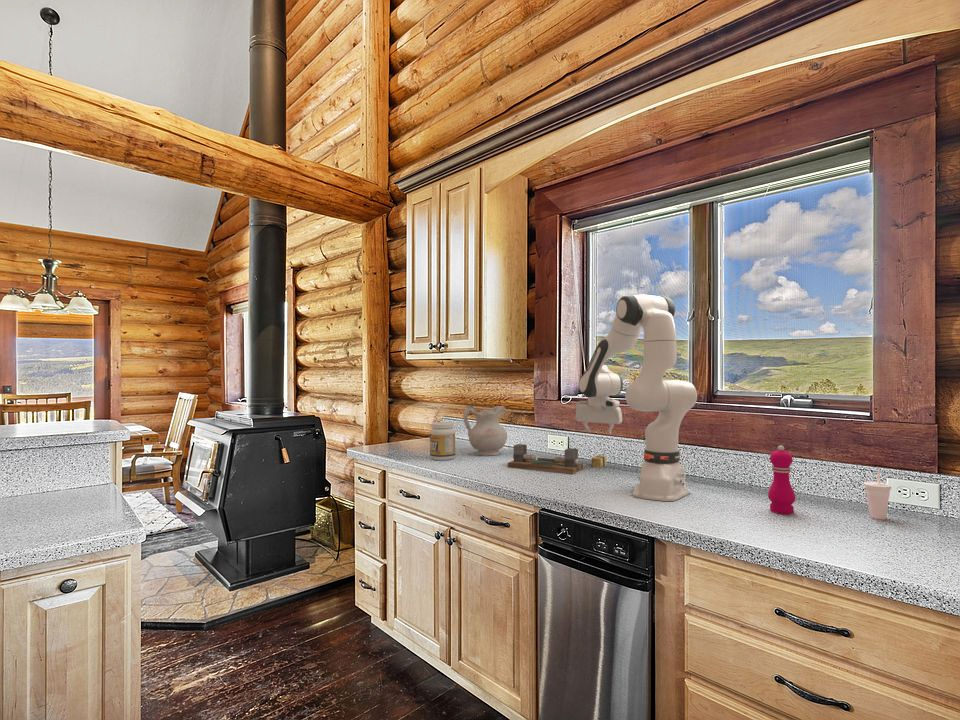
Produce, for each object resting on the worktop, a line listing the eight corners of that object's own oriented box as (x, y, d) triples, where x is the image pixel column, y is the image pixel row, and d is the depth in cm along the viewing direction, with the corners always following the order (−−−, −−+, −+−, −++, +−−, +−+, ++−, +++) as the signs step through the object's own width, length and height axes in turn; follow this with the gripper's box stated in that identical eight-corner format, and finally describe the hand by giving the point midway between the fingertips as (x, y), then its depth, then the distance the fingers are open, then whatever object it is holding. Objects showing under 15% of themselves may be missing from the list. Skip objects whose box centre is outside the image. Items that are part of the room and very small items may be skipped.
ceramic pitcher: (472, 461, 248) (474, 409, 246) (457, 451, 266) (458, 403, 264) (513, 457, 257) (514, 407, 255) (495, 448, 274) (497, 401, 273)
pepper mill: (763, 507, 162) (762, 443, 162) (787, 507, 162) (786, 443, 162) (776, 514, 155) (775, 447, 155) (800, 514, 155) (800, 447, 155)
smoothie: (897, 519, 149) (897, 470, 149) (880, 521, 147) (880, 472, 147) (874, 513, 155) (874, 466, 155) (858, 515, 153) (858, 467, 153)
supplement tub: (424, 458, 250) (424, 423, 250) (444, 455, 258) (444, 421, 258) (440, 462, 241) (440, 425, 241) (460, 458, 249) (460, 423, 249)
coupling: (606, 464, 231) (606, 455, 231) (600, 468, 224) (600, 458, 224) (597, 464, 233) (597, 455, 233) (591, 467, 226) (591, 458, 226)
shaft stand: (572, 474, 212) (572, 452, 212) (508, 467, 228) (507, 446, 228) (583, 468, 223) (583, 447, 223) (520, 462, 238) (520, 442, 238)
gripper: (573, 401, 231) (573, 432, 231) (619, 403, 220) (619, 435, 221) (578, 399, 236) (578, 430, 237) (623, 401, 226) (623, 433, 226)
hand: (598, 433), depth 228 cm, fingers open, 8 cm apart
